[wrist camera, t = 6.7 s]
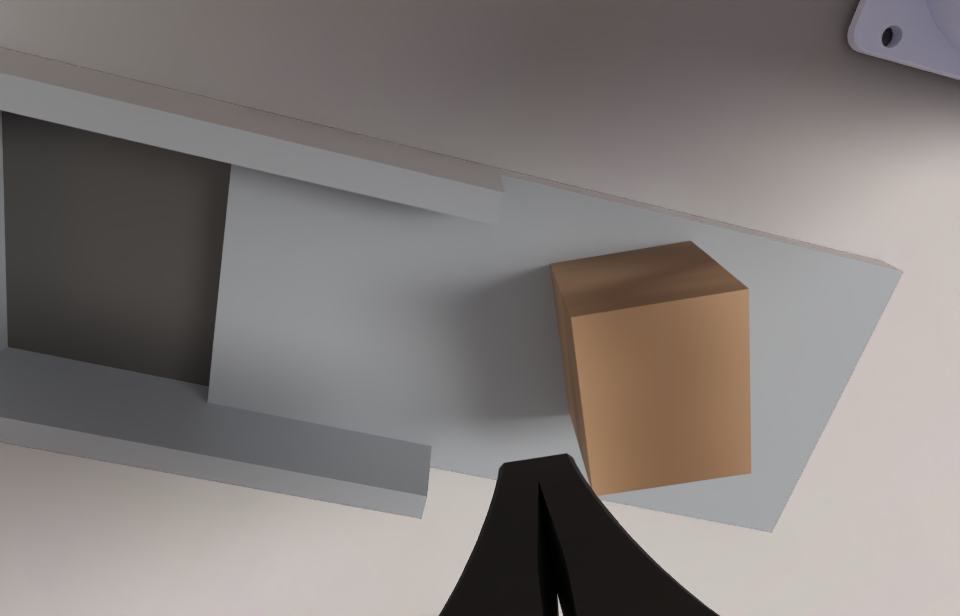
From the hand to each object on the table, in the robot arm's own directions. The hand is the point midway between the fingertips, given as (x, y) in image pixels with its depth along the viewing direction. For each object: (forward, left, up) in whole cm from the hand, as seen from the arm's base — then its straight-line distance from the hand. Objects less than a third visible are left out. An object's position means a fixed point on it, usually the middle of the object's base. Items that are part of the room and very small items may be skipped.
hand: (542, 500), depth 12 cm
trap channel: (+4, 0, -8) cm, 9 cm away
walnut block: (-3, -1, -7) cm, 8 cm away
